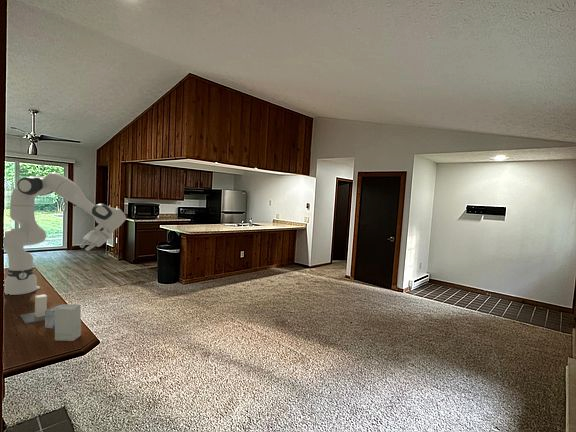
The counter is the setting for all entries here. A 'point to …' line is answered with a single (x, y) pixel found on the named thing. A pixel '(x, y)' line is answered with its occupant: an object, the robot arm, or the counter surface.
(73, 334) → the skincare box
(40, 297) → the cream block
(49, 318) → the medicine box
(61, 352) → the counter surface
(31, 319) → the mat
